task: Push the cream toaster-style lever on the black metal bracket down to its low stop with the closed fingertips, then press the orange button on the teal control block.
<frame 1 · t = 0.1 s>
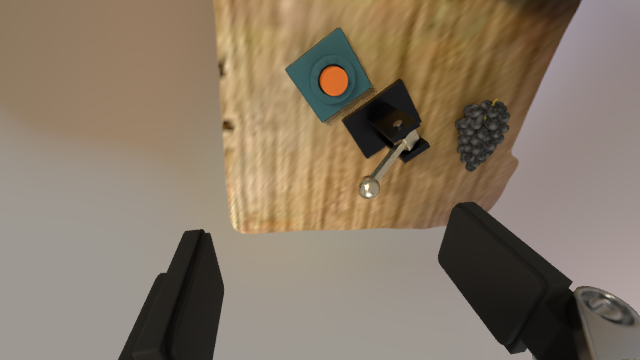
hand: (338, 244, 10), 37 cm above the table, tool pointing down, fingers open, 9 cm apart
button: (333, 81, 39), point 4 cm above the table, slide at 0.1 cm
fruit: (463, 132, 52), on the table
bracket: (380, 120, 48), on the table
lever: (387, 162, 38), point 13 cm above the table, hinge at 30.0°
control block: (327, 76, 43), on the table
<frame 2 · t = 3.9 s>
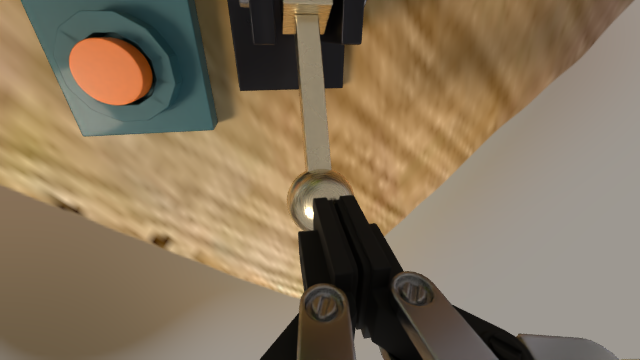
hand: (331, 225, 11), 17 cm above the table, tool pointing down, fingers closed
button: (114, 71, 17), point 4 cm above the table, slide at 0.1 cm
bracket: (288, 9, 21), on the table
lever: (312, 98, 12), point 12 cm above the table, hinge at 29.2°, touching gripper
control block: (141, 65, 21), on the table
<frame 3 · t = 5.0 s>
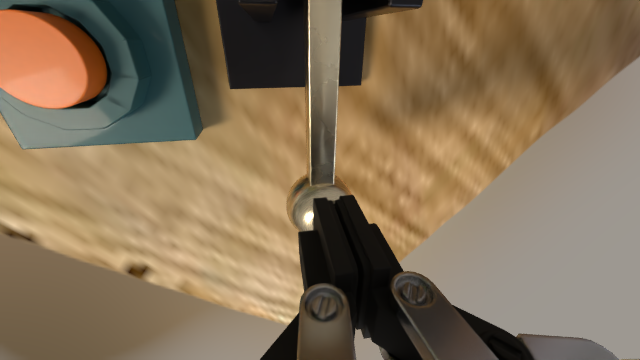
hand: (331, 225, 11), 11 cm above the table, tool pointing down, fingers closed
button: (47, 61, 12), point 4 cm above the table, slide at 0.1 cm
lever: (321, 101, 10), point 10 cm above the table, hinge at -2.1°, touching gripper
control block: (100, 55, 16), on the table
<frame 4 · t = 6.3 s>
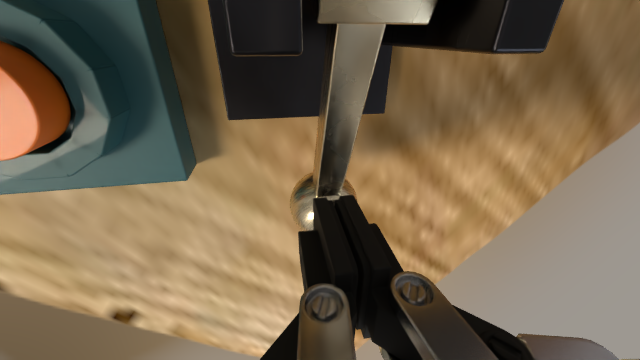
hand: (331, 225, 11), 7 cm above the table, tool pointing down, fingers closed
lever: (336, 128, 9), point 8 cm above the table, hinge at -25.9°, touching gripper
control block: (69, 81, 13), on the table
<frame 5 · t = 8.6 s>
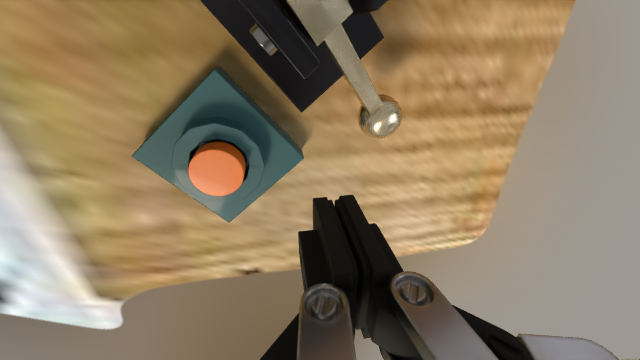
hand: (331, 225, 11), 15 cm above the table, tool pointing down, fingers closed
button: (218, 169, 20), point 4 cm above the table, slide at 0.1 cm
bracket: (291, 12, 20), on the table
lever: (353, 72, 16), point 8 cm above the table, hinge at -25.9°
control block: (226, 147, 24), on the table
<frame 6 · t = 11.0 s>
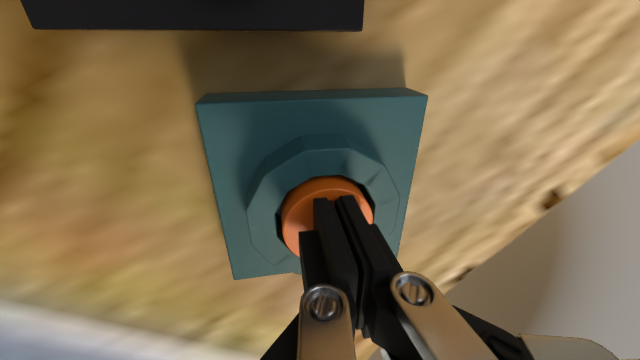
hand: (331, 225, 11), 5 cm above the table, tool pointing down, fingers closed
button: (325, 217, 12), point 4 cm above the table, slide at -0.7 cm, touching gripper
control block: (313, 179, 15), on the table
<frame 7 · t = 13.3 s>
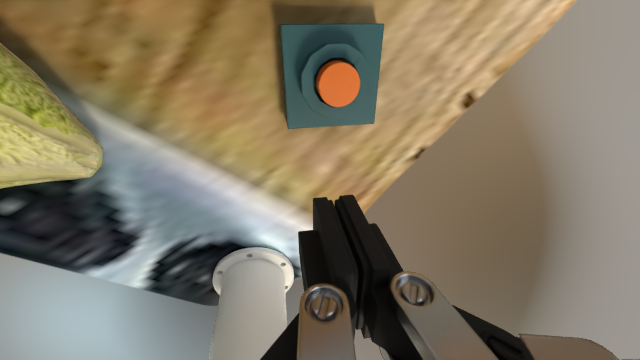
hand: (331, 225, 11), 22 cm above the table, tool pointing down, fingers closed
button: (337, 84, 25), point 4 cm above the table, slide at 0.1 cm
control block: (328, 76, 29), on the table
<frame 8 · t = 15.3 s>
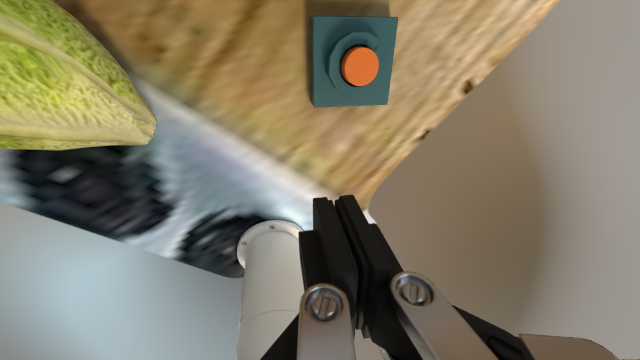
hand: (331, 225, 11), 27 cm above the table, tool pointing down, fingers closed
lettuce: (50, 66, 29), on the table
button: (359, 66, 30), point 4 cm above the table, slide at 0.1 cm
control block: (349, 63, 34), on the table
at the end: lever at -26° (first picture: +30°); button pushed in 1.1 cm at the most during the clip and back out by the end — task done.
